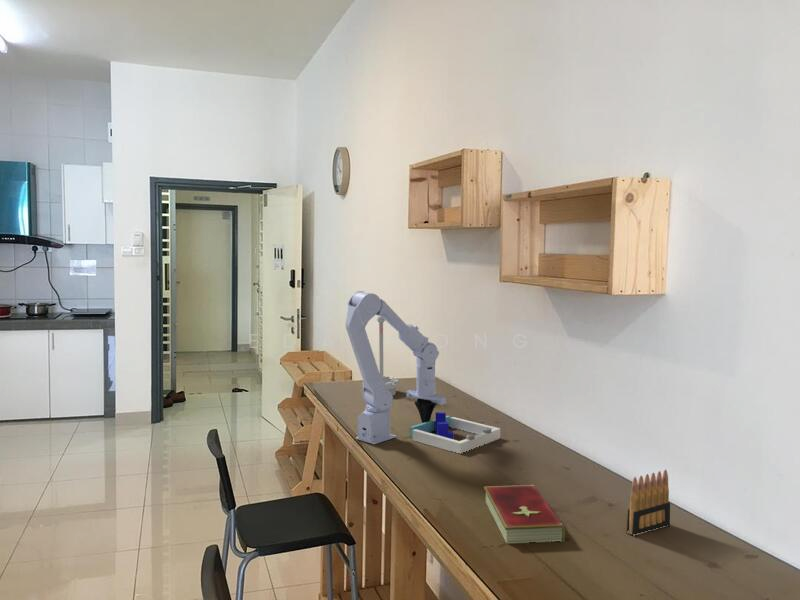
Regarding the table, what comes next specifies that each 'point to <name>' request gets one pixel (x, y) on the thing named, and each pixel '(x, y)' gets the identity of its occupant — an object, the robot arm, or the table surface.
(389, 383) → the flag stand
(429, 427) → the gate
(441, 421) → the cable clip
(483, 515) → the table surface
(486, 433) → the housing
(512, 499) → the hardcover book
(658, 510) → the ammunition clip
